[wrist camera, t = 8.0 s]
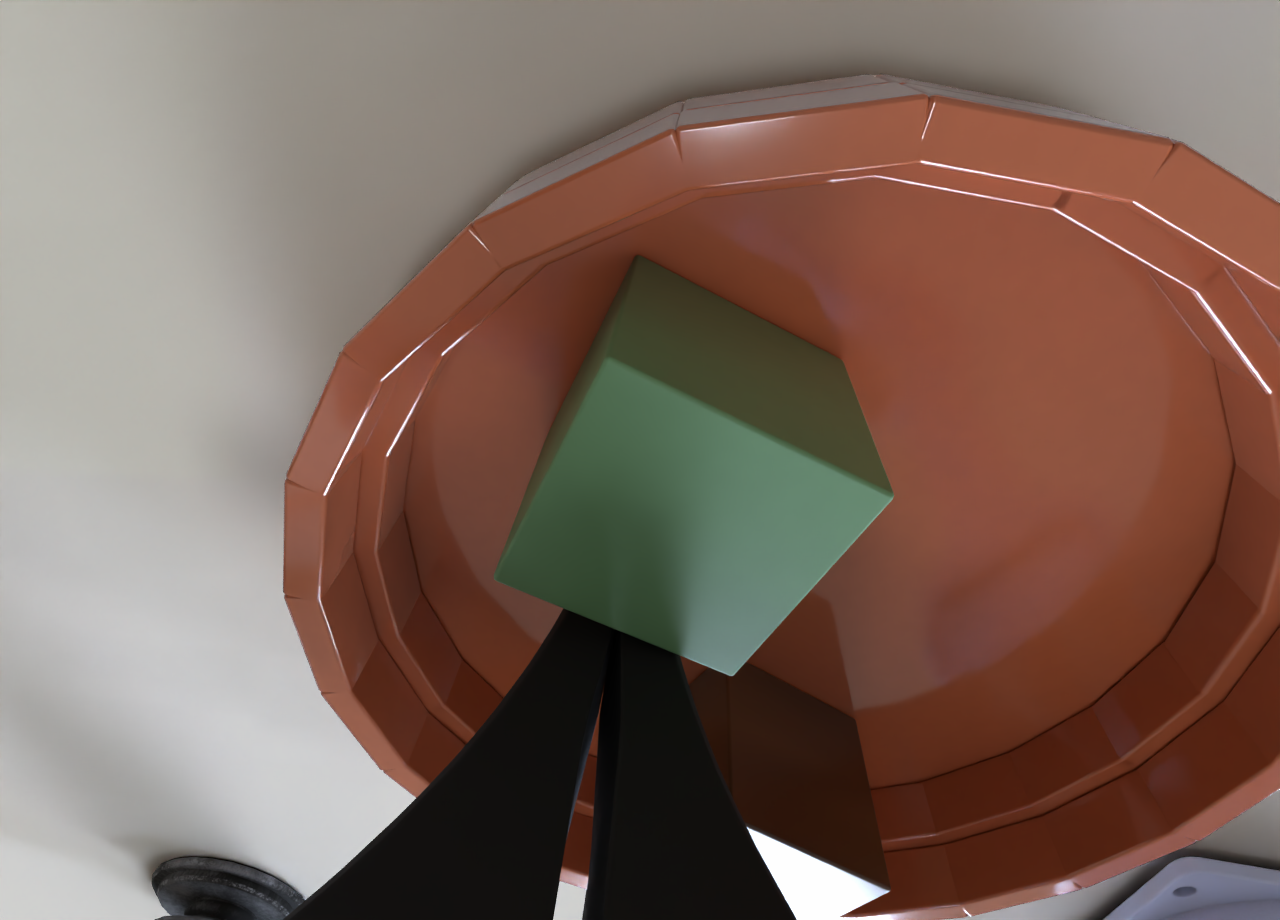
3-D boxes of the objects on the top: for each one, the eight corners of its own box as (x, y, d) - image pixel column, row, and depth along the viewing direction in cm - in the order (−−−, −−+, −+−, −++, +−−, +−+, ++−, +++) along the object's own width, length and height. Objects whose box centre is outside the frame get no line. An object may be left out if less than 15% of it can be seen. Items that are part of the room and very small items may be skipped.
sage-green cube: (727, 518, 12) (733, 679, 9) (546, 436, 12) (491, 580, 9) (844, 359, 10) (897, 496, 7) (637, 251, 10) (605, 356, 7)
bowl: (1007, 841, 18) (1056, 977, 15) (384, 736, 18) (331, 856, 15) (1574, 202, 9) (1913, 277, 6) (318, -35, 9) (157, -53, 6)
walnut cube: (856, 718, 15) (893, 891, 12) (755, 789, 17) (766, 955, 14) (726, 649, 14) (731, 818, 11) (634, 731, 16) (618, 895, 13)
